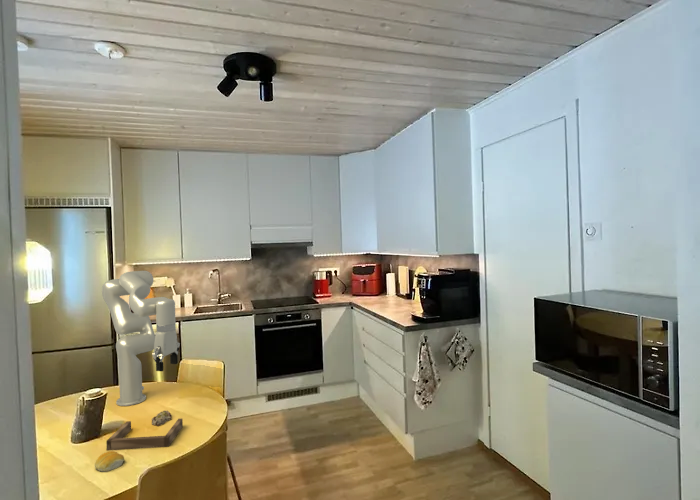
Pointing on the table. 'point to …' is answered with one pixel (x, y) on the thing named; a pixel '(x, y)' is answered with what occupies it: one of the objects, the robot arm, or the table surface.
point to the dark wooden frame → (141, 438)
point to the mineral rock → (161, 418)
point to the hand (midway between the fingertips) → (167, 367)
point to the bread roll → (109, 461)
